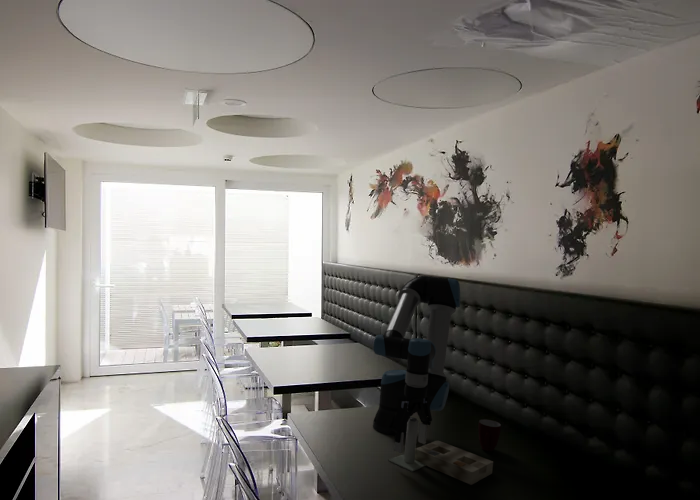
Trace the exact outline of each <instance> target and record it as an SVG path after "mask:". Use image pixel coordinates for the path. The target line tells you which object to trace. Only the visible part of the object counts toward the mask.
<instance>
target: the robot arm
mask: <svg viewBox="0 0 700 500" xmlns="http://www.w3.org/2000/svg"><path fill="white" fill-rule="evenodd" d="M397 295H398V296H397V298H398V301H397V303H396V305H395V308H394V310H393V312H392V314H391V317H390V319H389V322H388V324H387V326H386V329H385V331H384V333H383V334H377V335H375V337H374V339H373V340H374V341H373V348H372V349H373V353H374V354H375V355H377V356H381V357H387V358H393V359H394V358H395V359H400V360H405V361H406V369H390V370H386V371H384V372H383V374H382V376H381V381H380V390H379V391H380V392H379V393H380V394H379V403H378V409H377V412H376V414H375V416H374V419H373V420H372V421H373V422H372V428H373V429H374V430H376V431H377V432H378V433H379V432H380V433H381V434H385V435H389V436H390V435H391V436H394V450H393V451H394V452H397V453H399V454H403V447H404V436H406V432H407V422H408V420H409V419H410V417H413V415H414V414H416V413H417V415H418V417H419V419H420V423H419V425H418V427H419V428H418V435H417V436H418V437H417V442H418V443H420V444H423V445H426V443H427V433H428V425H429V426H431V422H432V421H433V418H432V413H431V411H436V412H440V411H443V409H444V408H445V406H446V402H447V399H448V396H449V390H450V382H448V381H447V375H446V374H445V373H444V370H445V363H446V356H447V348H448V340H449V333H450V327H451V318H452V315H453V314H454V313H456V310H457V309H459V308H460V307H461V285H460V282H459V280H457V279H455V278H449V277H438V276H429V275H420V276H417V277H413V278H411V279H410V280H409V281H407V282H406V283H405V284H404V285H403V286H402V287H401V289H400V291H399V292H398V294H397ZM420 304H427V308H428V310H429V312H430V314H429V320H428V327H427V333H426V339H425V338H421V337H420V338H417V337H413V338H405V336H406V334H407V331H408V329H409V326H410V323H411V321H412V318H413V316H414V313H415V310H416V308H417V307H418V306H419V305H420Z"/></svg>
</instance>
